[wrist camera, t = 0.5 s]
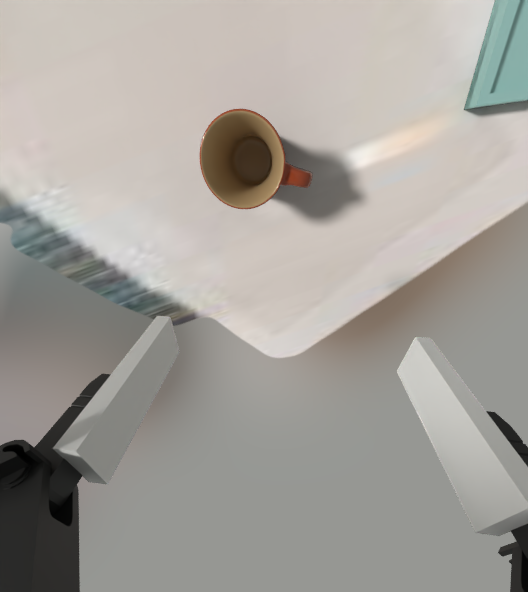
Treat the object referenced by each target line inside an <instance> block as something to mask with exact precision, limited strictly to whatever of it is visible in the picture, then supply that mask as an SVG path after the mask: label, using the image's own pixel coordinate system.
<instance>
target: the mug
mask: <svg viewBox="0 0 528 592" xmlns="http://www.w3.org/2000/svg"><path fill="white" fill-rule="evenodd" d="M200 165H201V170H202V174H203V177H204V179H205V182H206V184H207V186H208V187H209V189H210V190H211V191H212V193H213V194H214V195H215V196H216V197H217V198H218V199H219V200H220V201H222V202H223V203H225V204H227V205H229V206H231V207H234V208H238V209H251V208H255V207H258V206H260V205H262V204H264V203H266V202H267V201H268V200H269V199H271V198H272V197H273V196H274V195H275V193H276V192H277V191H278V189H279V187H280V185H282V186H286V185H293V186H297V187H302V188H307V187H309V186H310V184H311V181H312V178H313V174H312V173H311V172H310V171H307V170H304V169H301V168H298V167H295V166H293V165H291V164H289V163H288V162H286V161H285V152H284V148H283V145H282V142H281V139H280V137H279V135H278V133H277V131H276V130H275V128H274V127H273V126H272V124H271V123H270V122H269V121H268V120H267V119H265V118H264V117H263V116H261V115H260V114H258V113H256V112H254V111H251V110H247V109H233V110H229V111H226V112H224V113H222V114H221V115H219V116H218V117H217V118H215V119H214V120H213V121H212V122H211V124H210V125H209V126H208V128H207V130H206V131H205V133H204V136H203V139H202V142H201V147H200Z"/></svg>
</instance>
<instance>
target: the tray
mask: <svg viewBox="0 0 528 592" xmlns="http://www.w3.org/2000/svg"><path fill="white" fill-rule="evenodd" d="M522 101H528V0H495V3H494V6H493V10H492V13H491V17H490V20H489V24H488V27H487V31H486V34H485V38H484V41H483V45H482V48H481V52H480V55H479V59H478V62H477V66H476V69H475V73H474V76H473V80H472V83H471V87H470V90H469V94H468V97H467V101H466V104H465V108H464V110H465V109H472V108H479V107H486V106H493V105H501V104H508V103H515V102H522Z"/></svg>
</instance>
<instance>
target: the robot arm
mask: <svg viewBox="0 0 528 592" xmlns="http://www.w3.org/2000/svg"><path fill="white" fill-rule="evenodd" d="M178 353H179V348H178V344H177V340H176V336H175V332H174V329H173V325H172V321H171V317H164V316H157V317H156V318H155V319H154V321H153V322H152V323H151V324H150V326H149V327H148V328H147V330H146V331H145V332H144V334H143V335H142V336H141V337H140V338H139V340H138V341H137V342H136V343H135V345H134V346H133V347H132V349H131V350H130V351H129V352H128V354H127V355H126V356H125V357H124V359H123V360H122V361H121V362H120V364H119V365H118V366H117V368H116V369H115V370H114V371H113V373H112V374H111V375H109V374H101V375H100V376H99V377H97V378H96V379H95V380H93V381H92V382H91V383H90V384H89V385H88V386H87V387H86V388H85V389H84V390H83V391H82V393H81V394H80V397H77V399H76V400H75V401H74V402H73V403H72V406H71V407H69V408H68V409H67V410H66V412H65V413H64V414H63V415H62V416H61V418H60V419H59V420H58V421H57V422H56V423H55V424H54V426H53V427H52V428H51V429H50V430H49V431H48V433H47V434H46V435H45V436H44V437H43V439H42V440H41V441H40V442H39V443H38V444H37V445H36V446H35V447H33V446H31V445H30V444H29V443H27V442H26V441H24V440H14V441H11V442H8V443H5V444H3V445H1V446H0V592H80V590H79V508H78V507H79V506H78V487H77V483H78V482H79V480H80V479H81V477H82V476H83V477H84V478H85V479H86V480H87V481H88V482H93V483H101V484H108V483H109V481H110V479H111V477H112V476H113V474H114V472H115V470H116V468H117V466H118V465H119V463H120V461H121V459H122V457H123V455H124V454H125V452H126V450H127V448H128V446H129V444H130V442H131V441H132V439H133V437H134V435H135V433H136V431H137V429H138V428H139V426H140V424H141V422H142V420H143V418H144V416H145V415H146V412H147V411H148V409H149V407H150V405H151V404H152V402H153V400H154V398H155V396H156V394H157V392H158V390H159V389H160V387H161V385H162V383H163V381H164V379H165V378H166V376H167V374H168V372H169V370H170V368H171V366H172V365H173V362H174V361H175V359H176V357H177V355H178ZM397 373H398V375H399V377H400V379H401V381H402V383H403V385H404V387H405V389H406V391H407V394H408V395H409V398H410V400H411V402H412V404H413V406H414V408H415V410H416V412H417V414H418V416H419V418H420V420H421V422H422V424H423V426H424V428H425V431H426V432H427V434H428V437H429V439H430V441H431V443H432V445H433V447H434V449H435V451H436V453H437V455H438V457H439V459H440V461H441V463H442V465H443V467H444V469H445V472H446V474H447V476H448V478H449V480H450V482H451V484H452V486H453V488H454V490H455V492H456V494H457V496H458V498H459V500H460V502H461V504H462V507H463V509H464V511H465V513H466V515H467V517H468V519H469V521H470V523H471V525H472V527H473V529H474V531H475V533H481V534H489V535H496V536H500V535H503V534H505V533H507V532H510V531H511V532H512V534H513V536H514V537H515V539H516V541H517V542H514V543H511V544H508V545H506V546H503V547H501V548H500V550H499V552H498V553H499V554H500V555H501V556H506V555H509V554H512V559H511V560H509V562H510V563H511V564H512V568H511V569H512V570H511V589H510V592H528V447H527V446H526V445H525V444H523V441H522V440H521V438H520V437H519V436H518V435H517V433H516V432H515V431H514V430H513V428H512V427H511V426H510V425H509V424H508V423H507V422H505V421H504V420H503V419H502V418H501V417H500V416H498V415H497V414H496V413H495V412H488V411H487V412H486V411H485V409H484V408H483V407H482V405H481V404H480V403H479V401H478V400H477V399H476V397H475V396H474V395H473V394H472V392H471V391H470V390H469V388H468V387H467V386H466V384H465V383H464V382H463V380H462V379H461V378H460V376H459V375H458V374H457V372H456V371H455V370H454V368H453V367H452V366H451V364H450V363H449V362H448V361H447V359H446V358H445V356H444V355H443V354H442V352H441V351H440V350H439V348H438V347H437V346H436V344H435V343H434V342H433V341H432V339H431V338H423V337H415V339H414V341H413V342H412V344H411V346H410V348H409V350H408V352H407V353H406V356H405V357H404V359H403V361H402V363H401V365H400V366H399V369H398V370H397Z"/></svg>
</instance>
